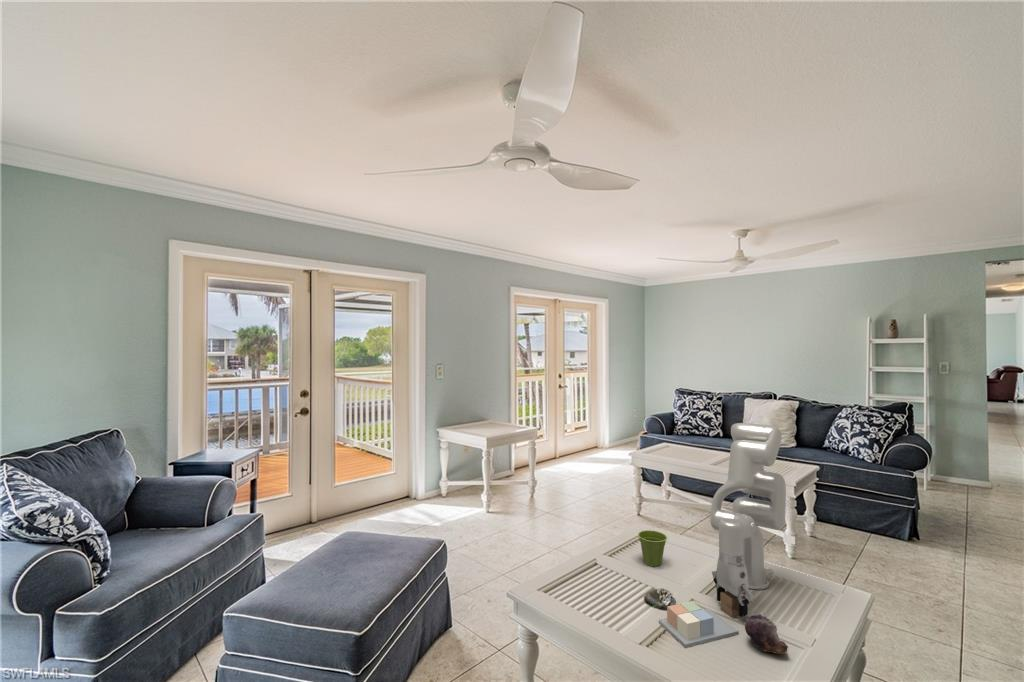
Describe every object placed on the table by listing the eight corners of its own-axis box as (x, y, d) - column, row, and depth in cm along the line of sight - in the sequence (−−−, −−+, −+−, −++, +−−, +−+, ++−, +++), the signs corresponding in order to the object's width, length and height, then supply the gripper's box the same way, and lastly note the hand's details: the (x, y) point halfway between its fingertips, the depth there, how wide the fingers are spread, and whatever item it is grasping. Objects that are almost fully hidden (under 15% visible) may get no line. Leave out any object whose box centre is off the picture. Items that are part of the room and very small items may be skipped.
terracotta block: (679, 618, 150) (679, 603, 150) (689, 627, 146) (689, 611, 146) (667, 621, 149) (667, 606, 149) (676, 630, 144) (676, 614, 144)
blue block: (702, 624, 147) (702, 609, 147) (713, 633, 142) (713, 617, 142) (690, 627, 145) (690, 612, 145) (701, 636, 141) (700, 620, 141)
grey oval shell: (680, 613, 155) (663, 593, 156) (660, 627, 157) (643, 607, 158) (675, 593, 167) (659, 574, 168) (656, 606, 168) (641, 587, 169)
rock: (768, 639, 143) (737, 639, 142) (766, 609, 144) (735, 609, 144) (793, 658, 131) (759, 659, 131) (790, 626, 133) (757, 626, 132)
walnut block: (732, 607, 158) (732, 589, 158) (743, 615, 153) (743, 597, 153) (720, 610, 157) (720, 592, 157) (731, 618, 152) (731, 600, 152)
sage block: (692, 615, 152) (692, 601, 152) (702, 623, 147) (702, 608, 147) (680, 618, 150) (679, 603, 150) (690, 626, 146) (689, 611, 146)
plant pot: (671, 569, 185) (671, 541, 185) (642, 569, 185) (642, 541, 185) (662, 556, 197) (662, 529, 197) (634, 556, 197) (634, 529, 197)
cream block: (689, 627, 145) (689, 612, 145) (700, 636, 141) (700, 620, 141) (677, 630, 144) (677, 615, 144) (687, 639, 139) (687, 623, 139)
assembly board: (708, 611, 156) (708, 608, 156) (738, 634, 143) (738, 631, 143) (658, 622, 149) (658, 619, 149) (685, 647, 137) (685, 644, 137)
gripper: (761, 566, 148) (761, 620, 148) (721, 545, 165) (721, 592, 164) (742, 570, 146) (743, 624, 146) (704, 548, 162) (704, 596, 162)
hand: (731, 607), depth 155 cm, fingers open, 9 cm apart
